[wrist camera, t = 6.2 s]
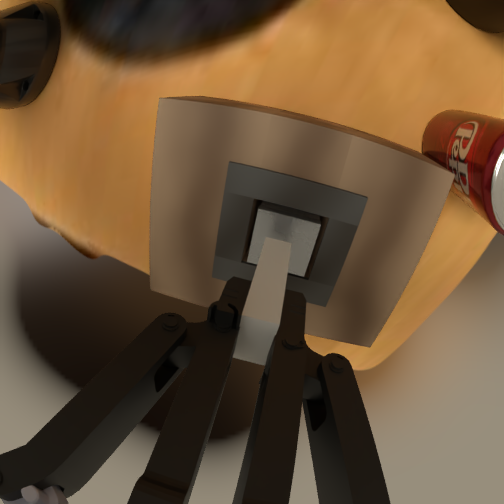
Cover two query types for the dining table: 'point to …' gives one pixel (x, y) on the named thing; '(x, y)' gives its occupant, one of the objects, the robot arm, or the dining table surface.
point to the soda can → (471, 159)
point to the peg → (286, 233)
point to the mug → (481, 13)
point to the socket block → (291, 195)
